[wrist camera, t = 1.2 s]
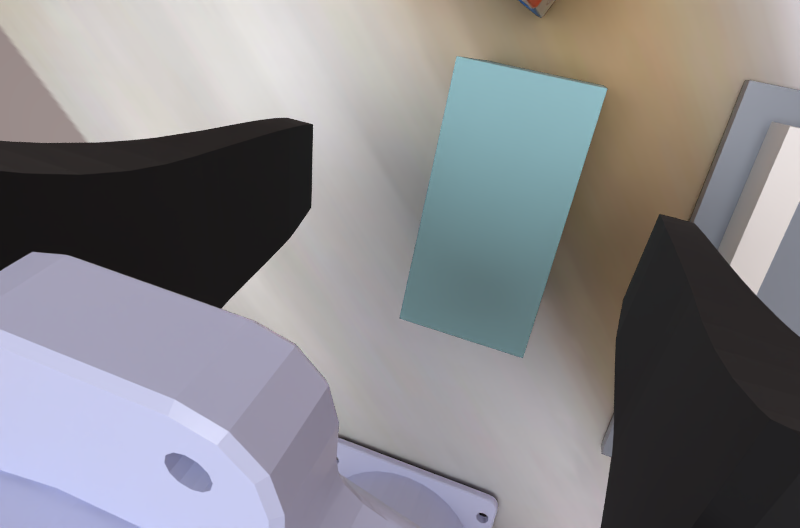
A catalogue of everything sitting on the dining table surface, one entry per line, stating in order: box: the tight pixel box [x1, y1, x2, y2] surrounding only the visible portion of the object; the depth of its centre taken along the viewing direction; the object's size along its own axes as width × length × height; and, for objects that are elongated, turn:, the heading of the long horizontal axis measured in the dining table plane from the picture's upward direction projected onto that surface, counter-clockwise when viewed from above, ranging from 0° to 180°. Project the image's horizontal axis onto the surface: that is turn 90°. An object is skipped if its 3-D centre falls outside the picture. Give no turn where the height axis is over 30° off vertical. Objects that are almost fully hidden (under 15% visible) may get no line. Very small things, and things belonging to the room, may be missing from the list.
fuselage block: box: [400, 56, 607, 358], centre depth 19 cm, size 8×4×5 cm, turn 167°
